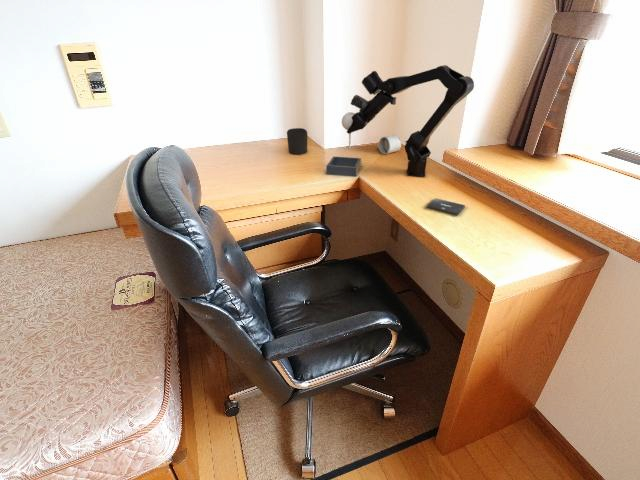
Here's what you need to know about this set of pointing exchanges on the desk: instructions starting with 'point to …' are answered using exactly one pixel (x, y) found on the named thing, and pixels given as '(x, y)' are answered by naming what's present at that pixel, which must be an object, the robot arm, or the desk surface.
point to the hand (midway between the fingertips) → (349, 130)
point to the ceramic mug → (389, 144)
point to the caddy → (344, 166)
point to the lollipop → (348, 124)
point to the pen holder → (297, 141)
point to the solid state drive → (446, 206)
